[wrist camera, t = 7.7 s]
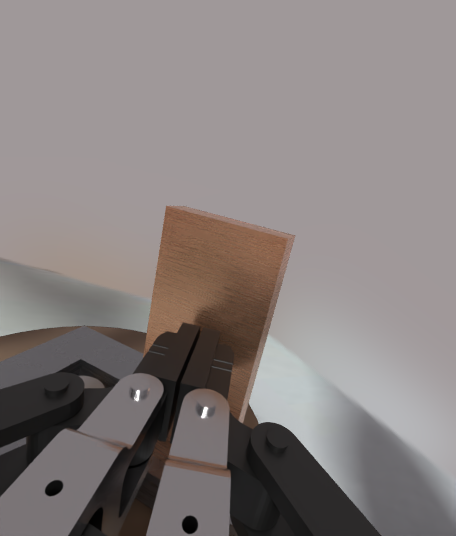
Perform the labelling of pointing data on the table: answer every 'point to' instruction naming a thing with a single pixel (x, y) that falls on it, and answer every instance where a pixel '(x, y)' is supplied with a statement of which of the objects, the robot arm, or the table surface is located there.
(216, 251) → the handled square nut
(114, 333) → the post base
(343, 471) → the table surface
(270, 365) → the table surface
